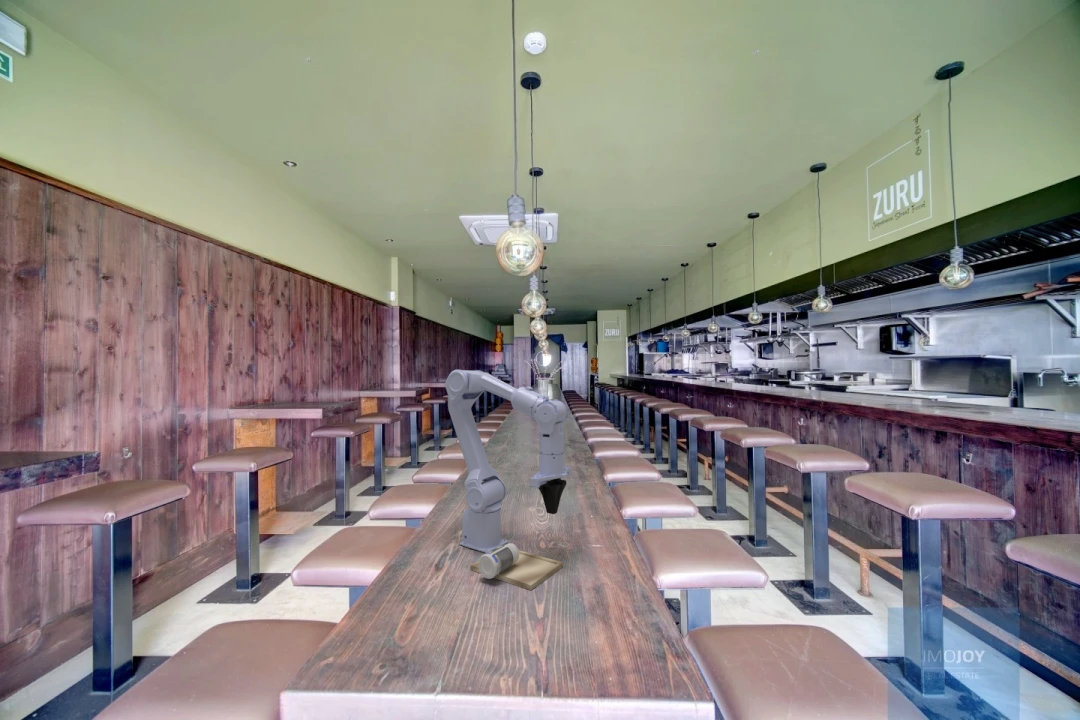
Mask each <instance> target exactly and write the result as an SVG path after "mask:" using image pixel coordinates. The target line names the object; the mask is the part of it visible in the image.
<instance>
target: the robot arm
mask: <svg viewBox="0 0 1080 720" xmlns="http://www.w3.org/2000/svg"><path fill="white" fill-rule="evenodd" d="M444 386H445V390H446V393H447V407H448V408H447V410H448V412H449V415H450V419H451V421H452V425H453V428H454V432H455V435H456V437H457V440H458V441H457V442H458V444H459V446H460V450H461V452H462V456H463V458H464V463H465V466H466V469H467V472H468V475H467V477H466V479H465V481H464V483H463V484H464V488H465V501H466V505H467V507H466V508H465V510H464V511H463V514H462V518H461V542H459V545H460V546H463V547H466V548H469V549H472V550H475V551H479V552H482V553H484V554H486V553H487V552H489V551H491V550H493V549H495V548H497V547H499V546H501V545H506V544H508V543H509V540H508V539H504V538H502V506H503V501H504V499H505V498H506V496H507V486H506V484H505V482H504V480H502V478H501V477H500V475H499V472H498V471H497V470H496V469H495V468H493V467H492V466H491V465H490V463H489V459H488V456H487V453H486V451H485V447H484V445H483V444H484V443H483V441H482V439H481V436H480V432H479V429H478V427H477V423H476V421H475V418H474V417H475V416H474V415H473V412H472V407H473V405H474V404H475V402H476V401H477V399H478V398H480V396H482V394H483V393H484V392H485V391H486V392H489V393H491V394H493V395H494V396H495V395H496V396H498V397H500V398H503V399H504V400H508V402H509V401H510V403H511V406H512V409H514V410H517V411H518V412H521V413H523V414H524V415H526V416H528V417H531V418H533V419H534V420H535V422H536V424H537V425H538V447H539V448H538V463H539V464H538V472H537V473H535V474H534V475H533V476H532V477H530V478H529V487H530V488H535V489H539V492H540V495H541V496H542V500H543V502H544V503H543V504H544V508H545V510H546V513H547V514H549V515H550V514H552V515H556V514H558V510H559V506H560V501H561V498H562V495H563V492H564V489H565V488H566V487H567V480H565V479H566V478H569V476H571V475H572V467H571V466H565V442H564V441H565V439H564V438H565V433H564V432H565V431H564V430H565V428H564V425H565V423H564V422H565V421H566V420H567V418H568V409H567V406H566V405H565V403H564V402H563V401H561V400H560V399H552V400H551V399H550V396H549V395H547V394H543V395H542V394H541V393H538V392H536V391H534V388H533V387H531V386H520V387H518V388H516V387H514V386H513V385H510V384H509V383H506V382H504V381H502V380H501V379H499V378H497V377H496V376H493V375H492V374H490V373H489V372H484V371H482V370H479V369H476V370H465V369H463V370H462V369H454V370H452V371H451V372H450V373H449V375H448V376H447V379H446V381H445V383H444Z"/></svg>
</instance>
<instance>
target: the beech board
mask: <svg viewBox="0 0 1080 720" xmlns="http://www.w3.org/2000/svg"><path fill="white" fill-rule="evenodd" d="M518 551H519V558H518V560H517V561H516V562H515V563H513V565H512V566H511V567H510V568H508V569H507V570H505V571H503V572H502V573H500V574H498V575H497V576H495V577H493V578H494V579H496V580H499V581H502V582H505V583H508V584H511V585H514V586H517V587H519V588H522V589H525V590H528V591H533V590H534V589H535V588H536V587H538V586H540V585H541V584H542V583H543V582H545V581H546V580H547V579H549V578H550V577H551V576H553V575H554V574H556V573H557V572H558V571H559V570H561V569H562V568H564V566H563V565H564V564H563V563H564V562H562V561H560V560H556V559H552V558H548V557H545V556H541V555H538V554H534V553H531V552H527V551H524V550H520V549H518ZM478 563H479V560H477V561H475V562H473V563H471V564H470V569H469V570H471V571H473V572H475V573H476V572H477V573H479V574H481V572H480V570H479V566H478ZM493 578H492V579H493Z"/></svg>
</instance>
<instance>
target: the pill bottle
mask: <svg viewBox="0 0 1080 720" xmlns="http://www.w3.org/2000/svg"><path fill="white" fill-rule="evenodd" d="M518 550H519V548H518V547H517V545H516V544H514V543H511V542H508V543H507V544H505V545H501V546H499V547H497V548H495V549H493V550H491V551H489V552H487V553H484V554H482V555H481V556H480V557H479V559H478V561H479V563H478V566H479V570H480V572H481V573H480V574H481V575H482V576H483V578H485V579H487V580H491V579H493V577H495V576H497V575H498V574H500V573H502V572H503V571H505V570H507V569H508V568H510V567H511V566H512V565H513V563H515V562H516V561H517V560H518V558H519V551H518Z"/></svg>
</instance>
